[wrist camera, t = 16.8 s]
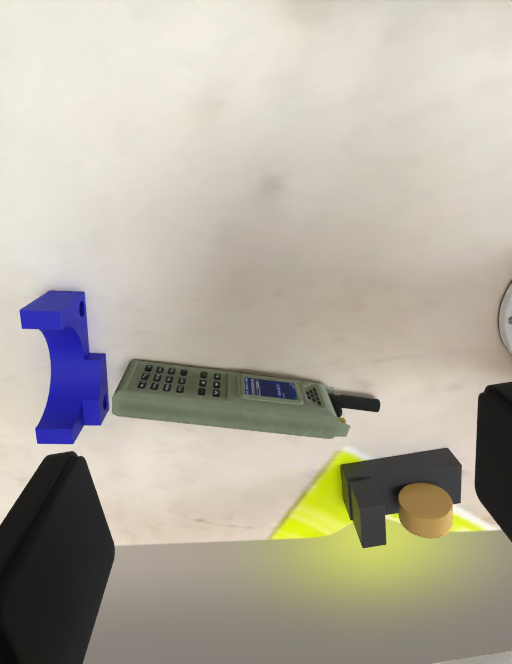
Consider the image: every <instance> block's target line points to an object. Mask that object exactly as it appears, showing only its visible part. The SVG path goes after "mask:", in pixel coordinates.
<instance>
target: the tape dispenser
mask: <svg viewBox="0 0 512 664" xmlns="http://www.w3.org/2000/svg"><path fill="white" fill-rule="evenodd" d="M461 472H462V465H461V464H460V462H459V461H458V460H457V459H456V457H455V456H454V455H453V454H452V453H451V451H450V450H449V449H448V448H445V449H439V450H433V451H426V452H420V453H414V454H407V455H401V456H395V457H389V458H382V459H376V460H370V461H363V462H357V463H351V464H344V465H341V476H342V488H343V499H344V503H345V506H346V509H347V512H348V514H349V517H350V520H353V523H354V525H355V528H356V531H357V534H358V536H359V539H360V542H361V545H362V547H363V548H367V547H374V546H380V545H386V528H385V527H386V526H385V515H388V514H395V513H399V519H400V522H401V523H402V525H403V526H404V527H405V528H406V529H407V530H408V531H409V532H411V533H413V534H414V535H417V536H420V537H424V538H438V537H441V536H443V535H445V534H447V533H448V532H449V531H450V529H451V527H452V515H453V504H457V503H461Z"/></svg>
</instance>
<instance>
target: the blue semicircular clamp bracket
mask: <svg viewBox="0 0 512 664" xmlns="http://www.w3.org/2000/svg"><path fill="white" fill-rule="evenodd" d="M20 317H21V325H22V329H39V330H40V331H41V332H42V333H43V335H44V337H45V339H46V341H47V344H48V348H49V352H50V359H51V383H50V391H49V396H48V401H47V404H46V408H45V411H44V413H43V416H42V418H41V420H40V422H39V424H38V425H37V427H36V428H35V430H36V438H37V444H74V442H75V440H76V438H77V437H78V435H79V433H80V431H81V430H82V428H83V426H84V425H100V426H101V424H102V422H103V420H104V418H105V416H106V414H107V412H108V410H109V402H108V387H107V371H106V355H105V354H95V353H89V344H88V331H87V318H86V306H85V293H84V292H72V291H49V292H47V293H46V294H44V295H42V296H41V297H39V298H38V299H36V300H35V301H33V302H31V303H30V304H28V305H27V306H25V307H24V308H22V309H21V310H20Z"/></svg>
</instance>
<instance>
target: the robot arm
mask: <svg viewBox="0 0 512 664" xmlns="http://www.w3.org/2000/svg"><path fill="white" fill-rule="evenodd" d="M499 329H500V334H501V337H502V340H503V343H504V344H505V346H506V348H507V349H508V351H509V352H510V353H511V354H512V283H511V284H510V286H509V288H508V290H507V292H506V294H505V296H504V298H503V301H502V305H501V308H500V315H499ZM475 490H476V494H477V496H478V498H479V500H480V502H481V503H482V504H483V506H484V507H485V508H486V509H487V511H488V512H489V513H490V515H491V516H492V517H493V518H494V520H495V521H496V522H497V524H498V525H499V526H500V527H501V529H502V530H503V531H504V533H505V534H506V535H507V536H508V538H509V539H510V540H511V542H512V382H507V383H500V384H494V385H488V386H487V387H486V388H485V391H484V392H483V393H481V394H480V395H479V397H478V416H477V440H476V465H475ZM114 554H115V547H114V542H113V539H112V536H111V533H110V530H109V527H108V524H107V521H106V518H105V515H104V512H103V510H102V507H101V504H100V501H99V498H98V495H97V492H96V489H95V486H94V483H93V480H92V477H91V474H90V471H89V468H88V465H87V463H86V460H85V458H84V457H82V456H79V457H78V456H77V454H76V453H75V452H73V451H70V452H64V453H58V454H51V455H48V456H46V457H45V458H44V460H43V461H42V463H41V464H40V466H39V467H38V469H37V470H36V472H35V473H34V475H33V476H32V478H31V479H30V481H29V482H28V484H27V485H26V487H25V488H24V490H23V492H22V493H21V495H20V496H19V498H18V499H17V501H16V502H15V504H14V505H13V507H12V508H11V510H10V511H9V513H8V514H7V516H6V517H5V519H4V520H3V522H2V523H1V525H0V664H83V661H84V657H85V654H86V651H87V647H88V644H89V641H90V637H91V634H92V630H93V627H94V624H95V621H96V617H97V614H98V611H99V607H100V604H101V601H102V597H103V594H104V591H105V588H106V584H107V581H108V578H109V574H110V571H111V568H112V564H113V561H114ZM431 664H512V651H509V652H502V653H496V654H489V655H483V656H476V657H470V658H464V659H457V660H451V661H445V662H438V663H431Z"/></svg>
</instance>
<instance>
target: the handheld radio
mask: <svg viewBox="0 0 512 664" xmlns="http://www.w3.org/2000/svg"><path fill="white" fill-rule="evenodd" d="M332 392H333V388H331V387H326V386H324V384H322V383H316V382H308V381H300V380H292V379H284V378H276V377H268V376H260V375H252V374H244V373H236V372H228V371H220V370H212V369H204V368H195V367H187V366H179V365H171V364H162V363H154V362H146V361H138V360H132V361H130V363H129V365H128V367H127V369H126V371H125V373H124V375H123V377H122V379H121V381H120V383H119V385H118V387H117V389H116V391H115V393H114V395H113V397H112V413H113V414H114V415H116V416H121V417H131V418H140V419H149V420H159V421H168V422H177V423H186V424H196V425H205V426H214V427H224V428H233V429H242V430H251V431H261V432H270V433H279V434H289V435H298V436H307V437H316V438H326V439H331V438H334V437H335V436H342V437H344V436H347V434H348V431H349V428H350V425H347V424H346V420H345V419H344V418H339V417H340V416H341V415H342V408H348V409H356V410H364V411H372V412H378V411H379V409H380V401H379V400H378V399H371V398H363V397H355V396H346V395H341V396H339V395H334V394H332Z"/></svg>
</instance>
